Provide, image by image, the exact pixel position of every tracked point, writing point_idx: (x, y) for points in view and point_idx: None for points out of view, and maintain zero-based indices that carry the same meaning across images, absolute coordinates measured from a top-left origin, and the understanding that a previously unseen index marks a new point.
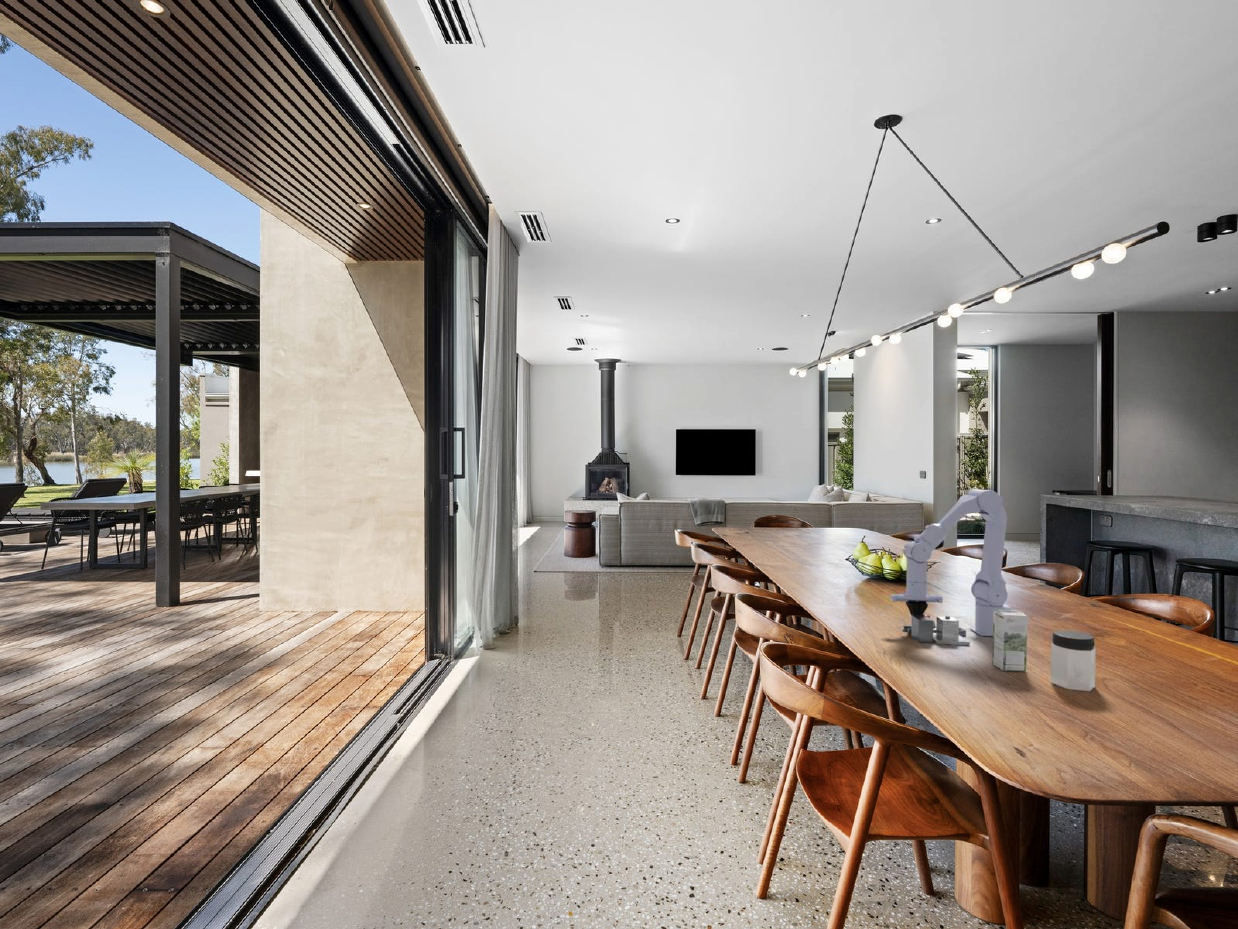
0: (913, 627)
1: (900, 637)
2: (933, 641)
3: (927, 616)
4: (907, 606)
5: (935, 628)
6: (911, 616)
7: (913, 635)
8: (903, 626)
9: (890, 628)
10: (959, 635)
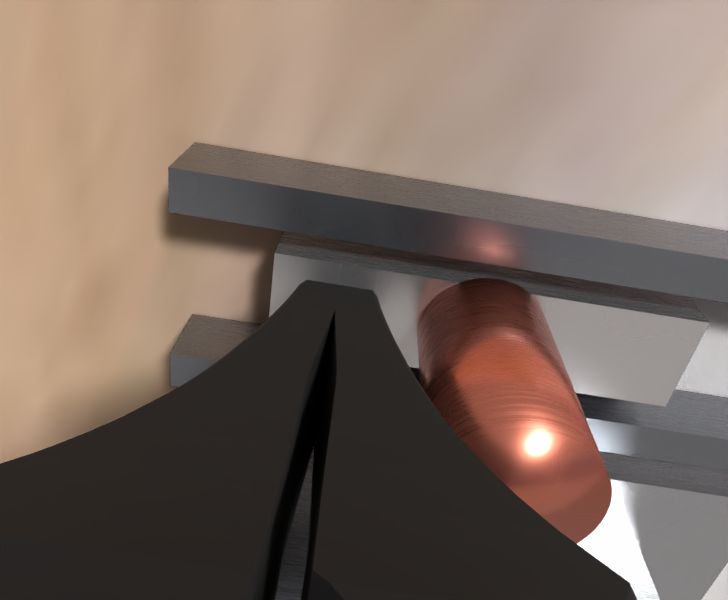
0: None
1: (54, 440)
2: None
3: None
4: (60, 450)
5: (629, 357)
6: (248, 344)
7: None
8: (175, 167)
9: (4, 4)
10: (725, 562)
